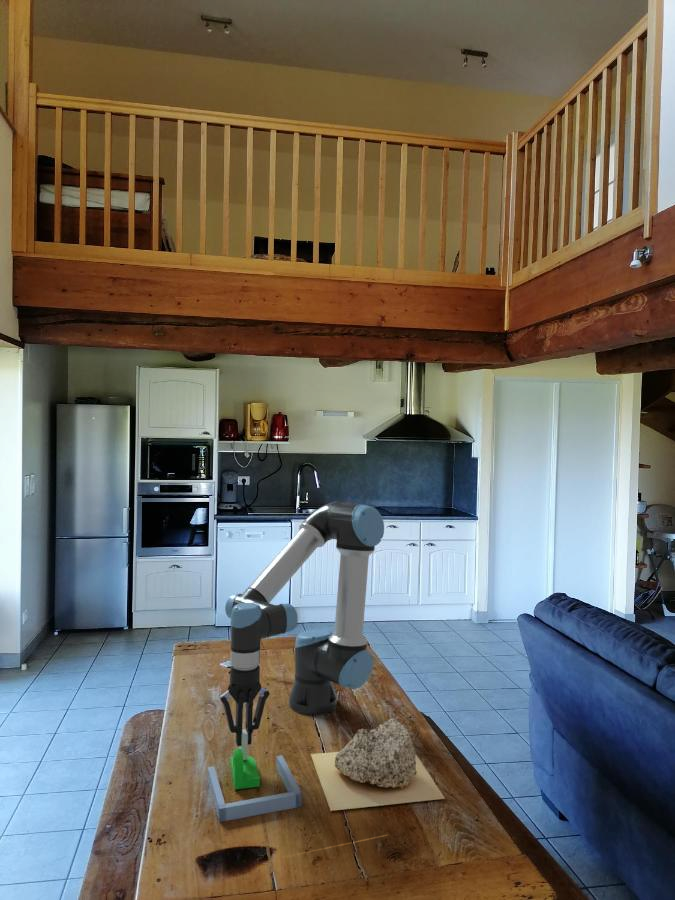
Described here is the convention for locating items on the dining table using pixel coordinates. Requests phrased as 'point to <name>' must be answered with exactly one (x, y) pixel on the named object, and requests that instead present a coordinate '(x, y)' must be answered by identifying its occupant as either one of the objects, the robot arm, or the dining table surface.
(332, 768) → the rock
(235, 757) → the mechanical part
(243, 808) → the hub cradle
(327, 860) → the dining table surface
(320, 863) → the dining table surface
